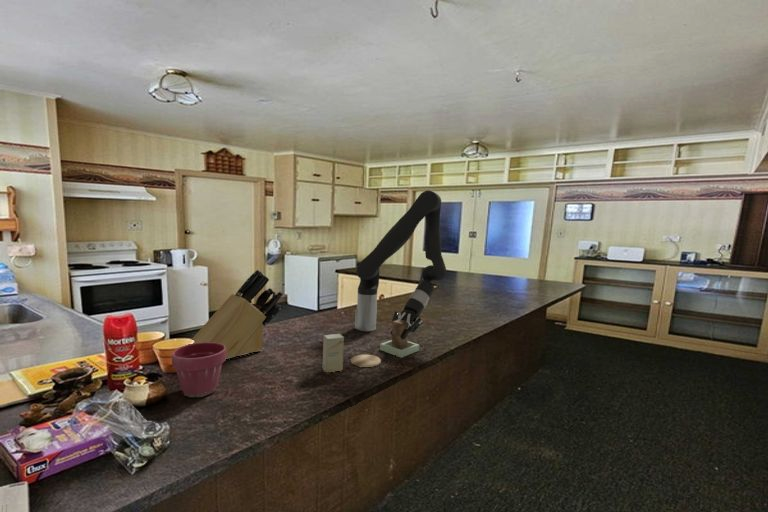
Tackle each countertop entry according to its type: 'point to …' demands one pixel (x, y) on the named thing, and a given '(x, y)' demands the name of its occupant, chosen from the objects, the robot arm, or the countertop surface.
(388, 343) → the holder
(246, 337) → the knife block
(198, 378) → the plant pot
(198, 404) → the countertop surface
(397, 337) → the walnut block
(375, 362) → the coaster
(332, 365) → the skincare box
